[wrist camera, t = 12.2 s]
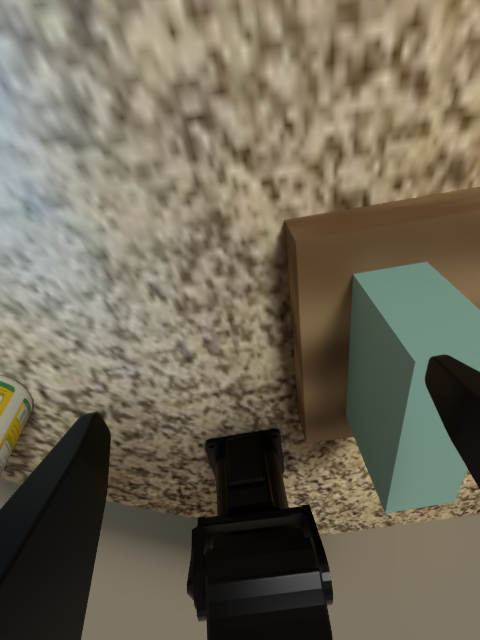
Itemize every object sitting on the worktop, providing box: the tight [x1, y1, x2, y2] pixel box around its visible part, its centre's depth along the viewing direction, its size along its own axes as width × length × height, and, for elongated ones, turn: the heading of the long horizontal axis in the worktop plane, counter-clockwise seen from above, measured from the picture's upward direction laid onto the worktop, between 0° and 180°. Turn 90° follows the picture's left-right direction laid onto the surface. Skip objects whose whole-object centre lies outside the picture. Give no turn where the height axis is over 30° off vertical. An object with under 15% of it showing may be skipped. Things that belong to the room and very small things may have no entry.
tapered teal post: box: [346, 262, 480, 513], centre depth 20 cm, size 12×4×7 cm, turn 8°
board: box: [285, 187, 480, 444], centre depth 24 cm, size 17×18×3 cm
